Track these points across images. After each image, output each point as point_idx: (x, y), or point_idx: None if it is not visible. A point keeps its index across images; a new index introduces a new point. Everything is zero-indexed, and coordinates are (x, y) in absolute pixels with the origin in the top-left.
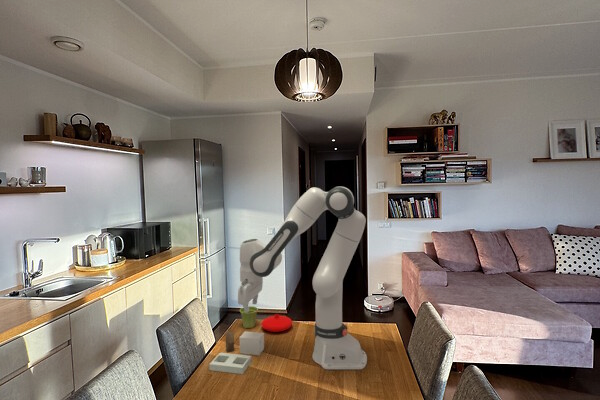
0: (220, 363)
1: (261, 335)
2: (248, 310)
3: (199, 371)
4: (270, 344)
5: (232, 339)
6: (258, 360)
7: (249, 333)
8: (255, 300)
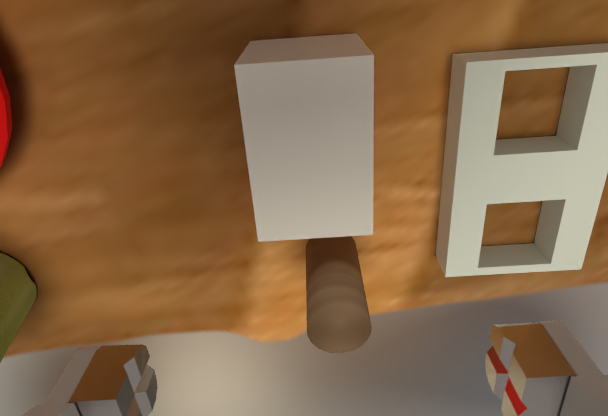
0: (577, 215)
1: (293, 65)
2: (554, 335)
3: (572, 285)
4: (173, 15)
5: (348, 274)
6: (427, 8)
7: (284, 190)
8: (110, 411)
